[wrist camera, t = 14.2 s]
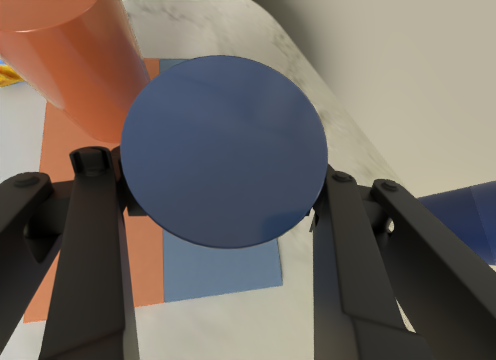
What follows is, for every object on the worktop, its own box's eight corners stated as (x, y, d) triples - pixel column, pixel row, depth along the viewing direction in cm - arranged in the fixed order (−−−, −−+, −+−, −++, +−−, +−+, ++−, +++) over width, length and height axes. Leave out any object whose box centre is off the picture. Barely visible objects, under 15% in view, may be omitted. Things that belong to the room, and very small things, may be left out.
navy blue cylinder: (257, 155, 20) (311, 56, 9) (267, 240, 18) (346, 237, 8) (171, 159, 19) (121, 51, 8) (174, 251, 17) (115, 263, 6)
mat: (252, 63, 24) (253, 60, 24) (281, 284, 19) (282, 285, 19) (54, 60, 21) (51, 56, 21) (28, 321, 16) (22, 323, 16)
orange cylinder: (158, 73, 22) (110, -83, 12) (159, 142, 20) (105, 34, 10) (76, 72, 21) (-60, -101, 10) (71, 145, 19) (-98, 27, 9)
